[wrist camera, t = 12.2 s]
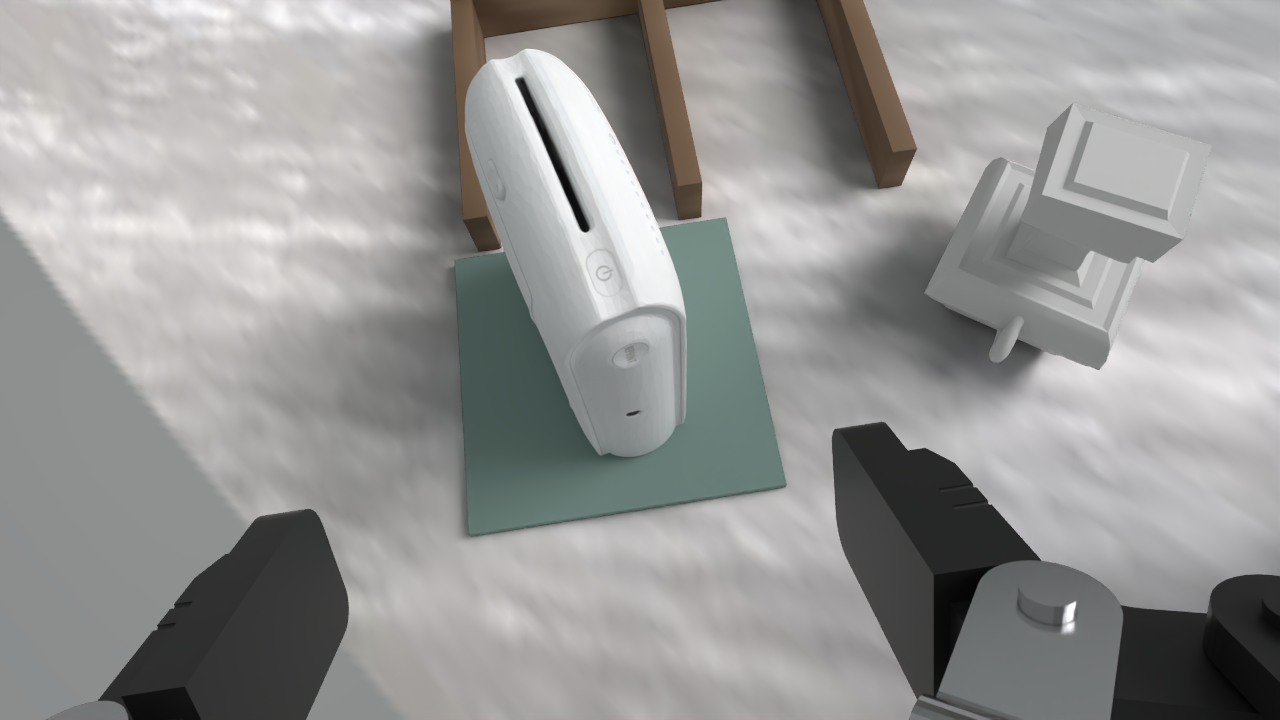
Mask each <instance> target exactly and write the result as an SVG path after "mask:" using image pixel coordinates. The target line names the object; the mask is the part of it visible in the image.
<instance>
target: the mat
mask: <svg viewBox="0 0 1280 720" xmlns="http://www.w3.org/2000/svg"><path fill="white" fill-rule="evenodd" d="M659 229H660V231H661V234H662V237H663V239H664V242H665V244H666V246H667V249H668V251H669V254H670V257H671V259H672V262H673V264H674V268H675V271H676V274H677V277H678V280H679V284H680V288H681V292H682V296H683V301H684V307H685V313H686V340H687V351H686V354H687V357H686V416H685V420H684V423H683V424H681V425H678V426H676V427H675V429H674V431H673V433H672V435H671V436H670V437H669V438H668V440H667V441H666V442H665V443H664V444H662V445H661V446H660V447H659V448H657V449H656V450H654V451H651V452H649V453H647V454H644V455H641V456H635V457H621V456H616V455H613V454H611V453H607V454H604V455H599V454H598V453H597V452H596V450H595V449H594V447H593V446H592V445H591V443H590V442H589V440H588V439H587V437H586V435H585V434H584V432H583V430H582V428H581V426H580V424H579V422H578V420H577V418H576V416H575V413H574V411H573V409H572V408H571V407H570V404H569V400H568V397H567V395H566V393H565V390H564V388H563V385H562V383H561V381H560V378H559V376H558V373H557V371H556V369H555V366H554V364H553V362H552V359H551V357H550V355H549V353H548V350H547V348H546V346H545V343H544V341H543V339H542V337H541V335H540V332H539V330H538V328H537V326H536V324H535V323H534V322H533V320H532V319H531V317H530V312H529V308H528V306H527V304H526V302H525V300H524V297H523V295H522V293H521V290H520V288H519V286H518V283H517V281H516V278H515V276H514V274H513V271H512V269H511V266H510V264H509V261H508V259H507V256H506V254H505V252H503V253H496V254H490V255H483V256H477V257H471V258H464V259H458V260H455V278H456V297H457V316H458V336H459V355H460V375H461V394H462V413H463V433H464V452H465V471H466V491H467V510H468V530H469V535H470V536H478V535H484V534H491V533H497V532H503V531H510V530H516V529H523V528H529V527H535V526H542V525H548V524H554V523H561V522H567V521H573V520H580V519H586V518H592V517H599V516H605V515H612V514H618V513H624V512H631V511H637V510H643V509H650V508H656V507H662V506H669V505H675V504H681V503H688V502H694V501H701V500H707V499H713V498H720V497H726V496H732V495H739V494H745V493H751V492H758V491H764V490H771V489H777V488H783V487H786V485H787V484H786V480H785V476H784V471H783V467H782V462H781V458H780V454H779V449H778V445H777V440H776V436H775V432H774V427H773V423H772V418H771V414H770V409H769V405H768V401H767V396H766V392H765V387H764V383H763V379H762V374H761V370H760V365H759V361H758V356H757V352H756V348H755V343H754V339H753V334H752V330H751V326H750V321H749V317H748V312H747V308H746V304H745V299H744V295H743V290H742V286H741V281H740V277H739V273H738V268H737V264H736V259H735V255H734V251H733V246H732V242H731V237H730V233H729V229H728V224H727V220H726V217H725V218H719V219H712V220H706V221H700V222H693V223H687V224H681V225H674V226H668V227H662V228H659Z"/></svg>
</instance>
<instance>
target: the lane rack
mask: <svg viewBox="0 0 1280 720" xmlns="http://www.w3.org/2000/svg"><path fill="white" fill-rule="evenodd" d="M711 1H717V0H450V2H451V19H452V36H453V53H454V70H455V87H456V104H457V122H458V139H459V156H460V173H461V190H462V207H463V220H464V222H465V224H466V226H467V228H468V230H469V232H470V235H471V237H472V239H473V241H474V243H475V245H476V247H477V249H478V251H486V250H492V249H499V248H501V241H500V238H499V236H498V233H497V230H496V227H495V224H494V222H493V219H492V217H491V214H490V211H489V209H488V206H487V203H486V200H485V197H484V194H483V191H482V189H481V186H480V183H479V180H478V177H477V174H476V171H475V168H474V164H473V160H472V157H471V153H470V150H469V146H468V143H467V138H466V133H465V100H466V95H467V91H468V88H469V85H470V83H471V81H472V79H473V78H474V77H475V75H476V74H477V72H478V71H479V70H480V69H481V68H482V66H483V65H485V64H486V55H485V43H484V37H488V36H495V35H501V34H507V33H514V32H520V31H526V30H533V29H539V28H546V27H552V26H558V25H565V24H571V23H577V22H584V21H590V20H596V19H603V18H609V17H616V16H622V15H628V14H635V13H638V14H639V19H640V24H641V29H642V34H643V39H644V44H645V49H646V55H647V60H648V65H649V70H650V75H651V80H652V85H653V90H654V95H655V100H656V105H657V111H658V116H659V121H660V126H661V131H662V136H663V141H664V146H665V151H666V156H667V162H668V167H669V172H670V177H671V182H672V187H673V192H674V197H675V202H676V207H677V212H678V218H679V220H683V219H689V218H696V217H701V205H702V180H701V175H700V170H699V166H698V161H697V157H696V152H695V147H694V143H693V138H692V133H691V129H690V124H689V120H688V115H687V110H686V106H685V101H684V96H683V92H682V87H681V83H680V78H679V73H678V69H677V64H676V59H675V55H674V50H673V46H672V41H671V36H670V32H669V27H668V22H667V18H666V13H665V9H666V8H673V7H679V6H686V5H692V4H698V3H705V2H711ZM817 2H818V5H819V9H820V12H821V15H822V18H823V21H824V24H825V27H826V30H827V33H828V36H829V39H830V42H831V45H832V48H833V51H834V54H835V57H836V60H837V63H838V66H839V69H840V72H841V75H842V78H843V81H844V84H845V87H846V90H847V93H848V96H849V99H850V102H851V105H852V108H853V111H854V114H855V117H856V120H857V123H858V126H859V129H860V133H861V136H862V139H863V142H864V145H865V148H866V151H867V154H868V157H869V160H870V163H871V166H872V169H873V172H874V175H875V178H876V181H877V184H878V187H879V189H880V188H887V187H893V186H899V185H902V182H903V180H904V178H905V175H906V173H907V171H908V168H909V166H910V164H911V161H912V159H913V157H914V154H915V152H916V150H917V147H916V144H915V142H914V139H913V136H912V134H911V131H910V128H909V125H908V123H907V120H906V117H905V114H904V112H903V109H902V106H901V103H900V101H899V98H898V95H897V92H896V90H895V87H894V84H893V81H892V79H891V76H890V73H889V70H888V68H887V65H886V62H885V60H884V57H883V54H882V51H881V49H880V46H879V43H878V40H877V38H876V35H875V32H874V29H873V27H872V24H871V21H870V18H869V16H868V13H867V10H866V7H865V5H864V2H863V0H817Z"/></svg>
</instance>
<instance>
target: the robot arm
mask: <svg viewBox="0 0 1280 720" xmlns="http://www.w3.org/2000/svg"><path fill="white" fill-rule="evenodd" d="M832 453H833V470H834V488H835V505H836V519H837V526H838V532H839V536H840V540H841V544H842V547H843V550H844V553H845V556H846V558H847V560H848V562H849V564H850V566H851V568H852V570H853V572H854V574H855V576H856V578H857V580H858V582H859V584H860V586H861V588H862V590H863V592H864V594H865V596H866V598H867V600H868V602H869V604H870V606H871V608H872V610H873V612H874V614H875V616H876V618H877V620H878V622H879V624H880V626H881V628H882V630H883V632H884V634H885V636H886V638H887V640H888V642H889V644H890V646H891V648H892V650H893V652H894V654H895V656H896V658H897V660H898V662H899V664H900V666H901V668H902V670H903V672H904V674H905V676H906V678H907V680H908V682H909V684H910V686H911V688H912V690H913V692H914V694H915V696H916V698H917V702H916V703H915V705H914V708H913V710H912V712H911V715H910V717H909V720H1280V576H1274V575H1244V576H1238V577H1233V578H1230V579H1227V580H1225V581H1223V582H1221V583H1220V584H1218V585H1217V586H1216V587H1215V588H1214V589H1213V591H1212V593H1211V596H1210V601H1209V607H1208V613H1207V614H1205V613H1192V612H1179V611H1166V610H1153V609H1142V608H1133V607H1127V606H1122V605H1120V603H1119V602H1118V600H1117V598H1116V597H1115V596H1114V595H1113V593H1112V592H1111V591H1110V590H1109V589H1108V588H1107V587H1105V586H1104V585H1103V584H1102V583H1100V582H1099V581H1097V580H1096V579H1094V578H1093V577H1091V576H1089V575H1087V574H1085V573H1083V572H1081V571H1078V570H1076V569H1073V568H1070V567H1068V566H1064V565H1060V564H1056V563H1051V562H1045V561H1041V559H1040V558H1039V557H1038V556H1037V555H1036V554H1035V553H1034V552H1033V550H1032V549H1031V548H1030V547H1029V546H1028V545H1027V544H1026V543H1025V541H1024V540H1023V539H1022V538H1021V537H1020V536H1019V535H1018V534H1017V533H1016V531H1015V530H1014V529H1013V528H1012V527H1011V526H1010V525H1009V524H1008V522H1007V521H1006V520H1005V519H1004V518H1003V517H1002V516H1001V515H1000V513H999V512H998V511H997V510H996V509H995V508H994V507H993V506H992V505H989V504H988V500H987V499H986V498H985V497H984V495H983V494H982V493H981V492H980V491H979V490H978V489H977V488H976V487H975V488H974V487H973V483H972V482H971V481H970V480H969V479H968V478H967V476H966V475H965V474H964V473H963V472H962V471H961V470H960V469H959V467H958V466H957V465H956V464H955V463H953V462H952V461H950V460H948V459H946V458H944V457H942V456H940V455H938V454H936V453H934V452H932V451H930V450H928V449H926V448H922V449H916V450H909V451H908V450H907V449H906V448H905V446H904V445H903V444H902V443H901V441H900V440H899V439H898V438H897V436H896V435H895V434H894V433H893V431H892V430H891V429H890V428H889V426H888V425H887V424H886V423H884V422H878V423H871V424H865V425H858V426H852V427H845V428H839V429H835V430H834V431H833V435H832ZM174 605H175V608H174V609H170V610H169V611H168V613H167V614H166V615H165V617H164V618H163V619H162V620H161V621H160V623H159V624H158V625H157V626H158V630H156V631H153V632H152V633H151V634H150V635H149V637H148V638H147V639H146V640H145V642H144V643H143V644H142V645H141V647H140V648H139V649H138V651H137V652H136V653H135V654H134V656H133V657H132V658H131V659H130V661H129V662H128V663H127V664H126V666H125V667H124V668H123V669H122V671H121V672H120V673H119V675H118V676H117V677H116V679H115V680H114V681H113V682H112V683H111V685H110V686H109V687H108V689H107V690H106V691H105V692H104V694H103V695H102V696H101V697H100V699H99V700H98V701H96V702H90V703H86V704H82V705H78V706H75V707H73V708H70V709H67V710H65V711H62V712H60V713H58V714H56V715H54V716H52V717H50V718H48V719H46V720H306V718H307V716H308V714H309V711H310V709H311V707H312V705H313V703H314V701H315V698H316V696H317V694H318V692H319V689H320V687H321V685H322V683H323V681H324V678H325V676H326V674H327V671H328V669H329V667H330V665H331V663H332V660H333V658H334V656H335V654H336V651H337V649H338V647H339V645H340V643H341V640H342V638H343V636H344V634H345V631H346V628H347V623H348V615H349V605H348V596H347V592H346V588H345V585H344V583H343V580H342V577H341V574H340V572H339V569H338V566H337V563H336V561H335V558H334V555H333V552H332V550H331V547H330V544H329V541H328V538H327V536H326V533H325V530H324V527H323V525H322V522H321V520H320V518H319V516H318V515H317V514H316V512H314V511H313V510H311V509H305V510H298V511H292V512H285V513H279V514H272V515H266V516H261V517H258V518H257V519H255V521H254V522H253V523H252V524H251V525H250V527H249V528H248V529H247V531H246V532H245V533H244V535H243V536H242V537H241V539H240V540H239V541H238V543H237V544H236V545H235V547H234V548H233V549H232V551H231V552H230V553H229V554H225V555H224V556H223V557H221V558H220V559H219V560H217V561H216V562H215V563H214V564H212V565H211V566H210V567H208V568H207V569H206V570H205V571H203V572H202V573H201V574H199V575H198V576H197V577H196V578H194V580H193V581H192V582H191V583H190V585H189V586H188V587H187V589H186V590H185V591H184V592H183V594H182V595H181V596H180V598H179V599H178V600H177V601H176V602H175V604H174Z"/></svg>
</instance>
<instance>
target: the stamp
mask: <svg viewBox="0 0 1280 720" xmlns="http://www.w3.org/2000/svg"><path fill="white" fill-rule="evenodd" d="M1211 147H1212V145H1209V144H1206V143H1202V142H1199V141H1196V140H1193V139H1189V138H1186V137H1183V136H1180V135H1176V134H1173V133H1170V132H1166V131H1163V130H1160V129H1157V128H1153V127H1150V126H1147V125H1144V124H1140V123H1137V122H1134V121H1131V120H1127V119H1124V118H1121V117H1118V116H1114V115H1111V114H1108V113H1105V112H1101V111H1098V110H1095V109H1092V108H1088V107H1085V106H1082V105H1079V104H1075V103H1073V104H1071V105H1070V106H1069V107H1068V108H1067V109H1066V110H1065V111H1064V112H1063V113H1062V114H1061V115H1060V116H1059V117H1058V118H1057V119H1056V120H1055V121H1054V122H1053V123H1052V124H1051V125H1050V126H1049V127H1048V128H1047V132H1046V136H1045V139H1044V143H1043V147H1042V150H1041V154H1040V158H1039V161H1038V165H1037V169H1036V170H1033V169H1031V168H1028V167H1025V166H1023V165H1020V164H1018V163H1015V162H1012V161H1010V160H1007V159H1004V158H1001V157H1000V158H998V159H995V160H993V161H992V162H991V163H990V164H989V165H988V166H987V167H986V169H985V171H984V173H983V175H982V177H981V179H980V181H979V183H978V185H977V187H976V189H975V191H974V193H973V195H972V197H971V199H970V201H969V203H968V205H967V207H966V209H965V211H964V213H963V215H962V217H961V219H960V221H959V223H958V225H957V227H956V229H955V231H954V234H953V236H952V238H951V240H950V242H949V244H948V246H947V248H946V250H945V252H944V254H943V256H942V258H941V260H940V262H939V264H938V266H937V268H936V270H935V272H934V274H933V276H932V278H931V280H930V282H929V284H928V286H927V288H926V290H925V292H924V294H926V295H928V296H929V297H930V298H932V299H934V300H936V301H938V302H940V303H942V304H944V305H945V307H946V308H948V309H950V310H953V311H955V312H957V313H959V314H962V315H964V316H966V317H969V318H971V319H973V320H975V321H978V322H980V323H982V324H984V325H987V326H989V327H991V328H993V329H996V330H997V333H996V336H995V340H994V343H993V344H992V346H991V349H990V352H989V358H990V360H991V361H992V362H994V363H999V362H1001V361H1003V360H1004V359H1005V358H1006V357H1007V356H1008V355H1009V353H1010V351H1011V349H1012V347H1013V346H1014V344H1015V342H1016V340H1017V339H1018V340H1021V341H1023V342H1025V343H1028V344H1030V345H1032V346H1034V347H1037V348H1039V349H1041V350H1043V351H1046V352H1048V353H1050V354H1052V355H1060V356H1062V357H1065V358H1067V359H1070V360H1072V361H1075V362H1077V363H1080V364H1082V365H1085V366H1090V367H1092V368H1095V369H1097V370H1100V368H1101V367H1102V365H1103V364H1104V363H1105V362H1106V360H1107V357H1108V355H1109V352H1110V349H1111V347H1112V344H1113V342H1114V339H1115V336H1116V334H1117V331H1118V329H1119V326H1120V323H1121V321H1122V318H1123V315H1124V313H1125V310H1126V308H1127V305H1128V302H1129V300H1130V297H1131V294H1132V292H1133V289H1134V287H1135V284H1136V281H1137V279H1138V276H1139V273H1140V271H1141V268H1142V266H1143V263H1144V260H1147V261H1150V262H1152V263H1153V262H1155V261H1156V260H1157V259H1159V258H1160V257H1161V256H1162V255H1164V254H1165V253H1166V252H1168V251H1169V250H1170V249H1172V248H1173V247H1174V246H1175V245H1177V244H1178V243H1179V242H1181V241H1182V240H1183V239H1184V235H1185V232H1186V229H1187V226H1188V222H1189V219H1190V216H1191V212H1192V209H1193V206H1194V202H1195V199H1196V196H1197V193H1198V189H1199V186H1200V183H1201V179H1202V176H1203V173H1204V170H1205V166H1206V163H1207V160H1208V156H1209V153H1210V150H1211Z"/></svg>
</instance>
